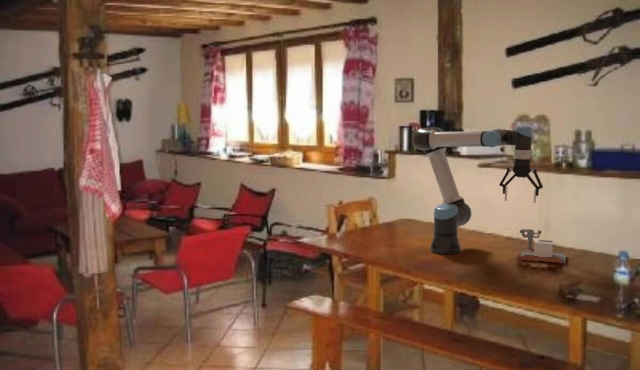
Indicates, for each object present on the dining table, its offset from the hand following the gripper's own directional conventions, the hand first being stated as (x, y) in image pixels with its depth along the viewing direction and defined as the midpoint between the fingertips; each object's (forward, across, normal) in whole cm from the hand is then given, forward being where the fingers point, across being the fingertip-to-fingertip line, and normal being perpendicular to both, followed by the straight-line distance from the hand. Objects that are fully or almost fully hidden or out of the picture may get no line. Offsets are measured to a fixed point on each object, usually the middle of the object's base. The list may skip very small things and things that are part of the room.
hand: (520, 201), depth 313 cm
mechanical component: (+26, +5, +12) cm, 30 cm away
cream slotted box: (+24, +12, -7) cm, 28 cm away
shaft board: (+26, +12, -6) cm, 29 cm away
